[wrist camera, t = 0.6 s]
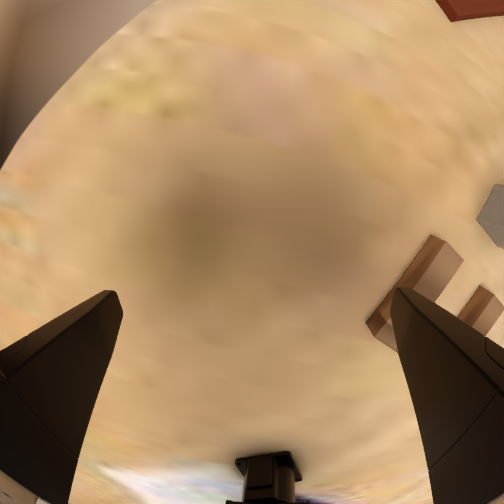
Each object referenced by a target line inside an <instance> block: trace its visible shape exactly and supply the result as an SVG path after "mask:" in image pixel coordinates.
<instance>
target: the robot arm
mask: <svg viewBox="0 0 504 504" xmlns="http://www.w3.org/2000/svg"><path fill="white" fill-rule="evenodd" d="M390 317H391V321H392V326H393V330H394V335H395V340H396V345H397V350H398V354H399V358H400V361H401V364H402V368H403V371H404V374H405V377H406V381H407V384H408V388H409V391H410V395H411V399H412V402H413V406H414V410H415V414H416V418H417V421H418V426H419V430H420V434H421V438H422V443H423V447H424V452H425V457H426V462H427V467H428V470H429V471H428V473H429V478H430V484H431V490H432V496H433V503H434V504H504V348H502V347H501V346H499V345H498V344H496V343H495V342H493V341H492V340H490V339H489V338H488V337H485V336H484V335H483V334H482V333H480V332H479V331H477V330H476V329H474V328H473V327H471V326H470V325H468V324H467V323H465V322H464V321H462V320H460V319H459V318H457V317H456V316H454V315H453V314H451V313H450V312H448V311H447V310H445V309H443V308H442V307H440V306H439V305H437V304H436V303H434V302H432V301H431V300H429V299H428V298H426V297H425V296H423V295H421V294H420V293H418V292H416V291H415V290H413V289H412V288H410V287H408V286H400V287H396V288H395V290H394V294H393V298H392V302H391V306H390ZM122 318H123V310H122V307H121V304H120V301H119V298H118V295H117V293H116V292H115V291H113V290H104V291H102V292H100V293H98V294H96V295H95V296H93V297H91V298H89V299H88V300H86V301H84V302H82V303H81V304H79V305H77V306H75V307H74V308H72V309H70V310H69V311H67V312H65V313H63V314H62V315H60V316H58V317H57V318H55V319H53V320H52V321H50V322H48V323H46V324H45V325H43V326H41V327H40V328H38V329H36V330H35V331H33V332H31V333H30V334H28V336H25V337H23V338H22V339H20V340H18V341H17V342H15V343H13V344H11V345H10V346H8V347H6V348H5V349H3V350H1V351H0V504H36V502H37V499H40V500H42V501H44V502H46V503H48V504H68V500H69V496H70V491H71V487H72V483H73V479H74V475H75V471H76V467H77V463H78V458H79V455H80V451H81V448H82V444H83V441H84V437H85V434H86V431H87V427H88V424H89V421H90V418H91V415H92V411H93V408H94V405H95V402H96V399H97V396H98V393H99V390H100V387H101V385H102V382H103V379H104V376H105V373H106V371H107V368H108V365H109V362H110V360H111V357H112V354H113V351H114V347H115V343H116V340H117V336H118V332H119V329H120V325H121V321H122ZM235 465H236V466H237V468H238V469H239V470H240V472H241V473H242V474H243V476H244V477H245V478H244V486H243V495H242V502H236V501H231V500H226V504H310V502H309V501H304V502H295V482H298V481H301V480H302V475H301V473H300V471H299V469H298V467H297V465H296V463H295V461H294V459H293V457H292V455H291V453H290V452H282V453H276V454H270V455H264V456H258V457H251V458H243V459H237V460H236V461H235Z"/></svg>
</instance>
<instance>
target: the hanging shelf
mask: <svg viewBox="0 0 504 504" xmlns="http://www.w3.org/2000/svg"><path fill="white" fill-rule="evenodd" d="M436 2H437V3H438V4H439V6H440V7H441V9H442V10H443V11H444V13H445V14H446V16H447V17H448V19H449V20H450V21H451V22H454V21H460V20H467V19H474V18H482V17H492V16H503V15H504V0H436Z"/></svg>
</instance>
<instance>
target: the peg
mask: <svg viewBox="0 0 504 504" xmlns="http://www.w3.org/2000/svg"><path fill="white" fill-rule="evenodd" d="M477 221H478V223H479V224H480V225H481V226H482V227H483V229H484V230H485V231H486V232H487V234H488V235H489V236H490V237H491V238H492V240H493V241H494V242H495V244H496V245H497V246H498V247H501V248H503V249H504V186H501V185H495V186H494V188H493V190H492V192H491V194H490V196H489V198H488V200H487V202H486V204H485V205H484V207H483V209H482V211H481V213H480V214H479V216H478V218H477Z"/></svg>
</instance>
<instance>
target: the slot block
mask: <svg viewBox="0 0 504 504" xmlns="http://www.w3.org/2000/svg"><path fill="white" fill-rule="evenodd" d="M463 261H464V260H463V259H462V258H461V257H460V256H459V255H458V253H457V252H456V251H455V250H454V249H453V248H452V247H451V246H450V245H449V244H448V243H447V242H446V241H443V240H441V239H439V238H436V237H434V236H432V235H431V236H430V237H429V239H428V240H427V242H426V243H425V245H424V246H423V248H422V249H421V251H420V252H419V254H418V255H417V256H416V258H415V259H414V261H413V262H412V264H411V265H410V266H409V268H408V269H407V270H406V272H405V273H404V275H403V276H402V277H401V279H400V280H399V281H398V283H397V284H396V285H395V287H394V288H393V289H392V290H391V292H390V293H389V294H388V296H387V297H386V298H385V299H384V301H383V302H382V303H381V305H380V306H379V307H378V308H377V309H376V311H375V312H374V313H373V314H372V316H371V317H370V318H369V319H368V320H367V322H366V324H367V326H368V327H369V329H370V331H371V333H372V334H373V336H374V337H375V338H376V339H378V340H379V341H381V342H382V343H384V344H385V345H387V346H388V347H390V348H391V349H393V350H394V351H396V352H397V353H398V350H397V345H396V340H395V335H394V330H393V326H392V321H391V317H390V306H391V302H392V298H393V294H394V290H395V288H396V287H400V286H408V287H410V288H412V289H413V290H415V291H416V292H418V293H420V294H421V295H423V296H425V297H426V298H428V299H429V300H431V301H432V302H435V301H436V299H437V298H438V297H439V295H440V294H441V293H442V291H443V290H444V288H445V287H446V286H447V284H448V283H449V281H450V280H451V279H452V277H453V276H454V274H455V273H456V271H457V270H458V268H459V267H460V265H461V264H462V262H463ZM503 310H504V306H503V305H502V303H501V302H500V301H499V300H498V298H497V297H496V296H495V295H494V294H493V293H491V292H489V291H488V290H486V289H485V288H483V287H482V286H479V287H478V289H477V290H476V292H475V293H474V295H473V296H472V298H471V299H470V300H469V302H468V303H467V305H466V306H465V307H464V309H463V310H462V312H461V313H460V314H459V316H458V317H457V318H459V319H460V320H462V321H464V322H465V323H467V324H468V325H470V326H471V327H473V328H474V329H476V330H477V331H479V332H480V333H482V334H483V335H484V336H486V334H487V333H488V332H489V330H490V329H491V328H492V326H493V325H494V323H495V322H496V321H497V319H498V318H499V316H500V315H501V313H502V312H503Z"/></svg>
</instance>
